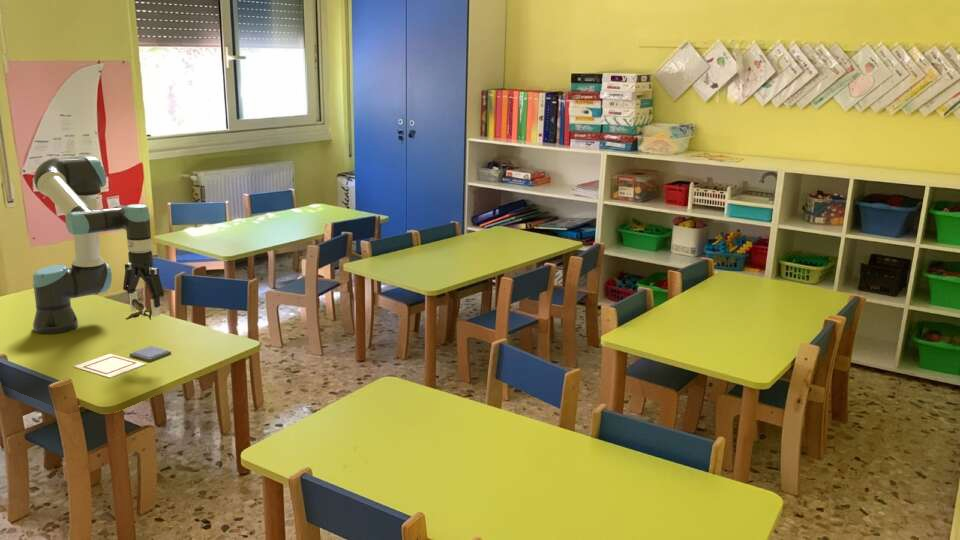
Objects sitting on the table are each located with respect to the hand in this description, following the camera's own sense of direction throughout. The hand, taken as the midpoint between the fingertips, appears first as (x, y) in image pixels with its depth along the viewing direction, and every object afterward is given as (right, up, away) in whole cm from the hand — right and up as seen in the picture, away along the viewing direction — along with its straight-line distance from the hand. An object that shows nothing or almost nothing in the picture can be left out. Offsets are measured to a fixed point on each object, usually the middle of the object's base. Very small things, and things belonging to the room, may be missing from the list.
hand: (145, 313), depth 272 cm
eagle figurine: (-1, -2, -2) cm, 3 cm away
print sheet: (-9, -17, -6) cm, 21 cm away
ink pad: (0, -15, +4) cm, 15 cm away
